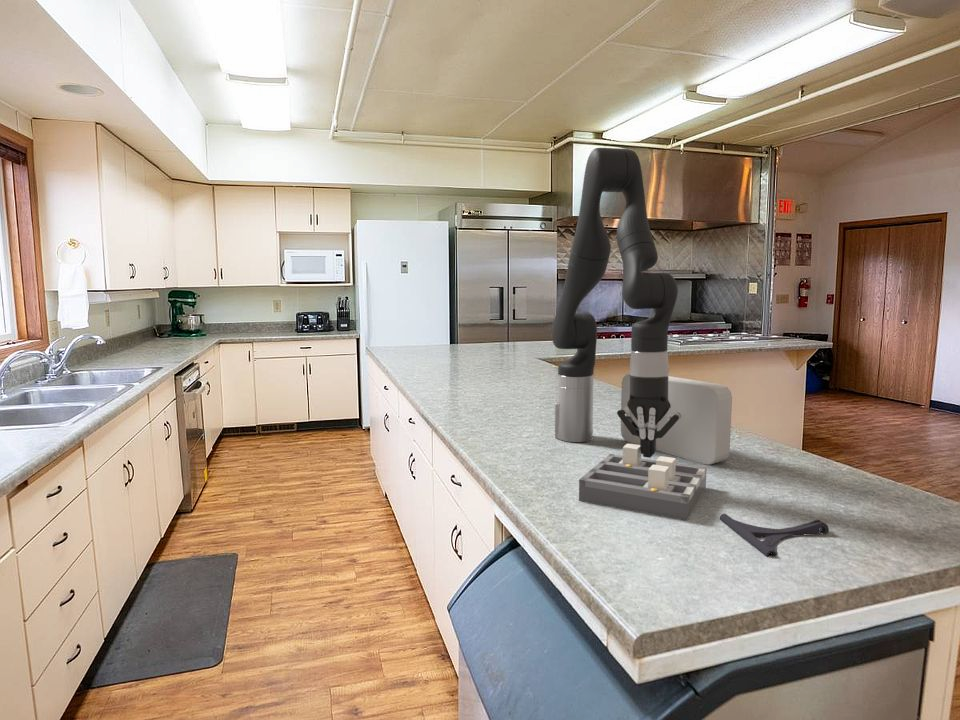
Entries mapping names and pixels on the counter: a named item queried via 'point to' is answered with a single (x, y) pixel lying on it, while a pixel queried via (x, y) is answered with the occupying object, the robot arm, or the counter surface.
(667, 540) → the counter surface
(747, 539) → the bracket
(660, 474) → the switch front
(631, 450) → the switch back
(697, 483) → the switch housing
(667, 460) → the switch middle
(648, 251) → the robot arm
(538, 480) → the counter surface
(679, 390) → the grey block
